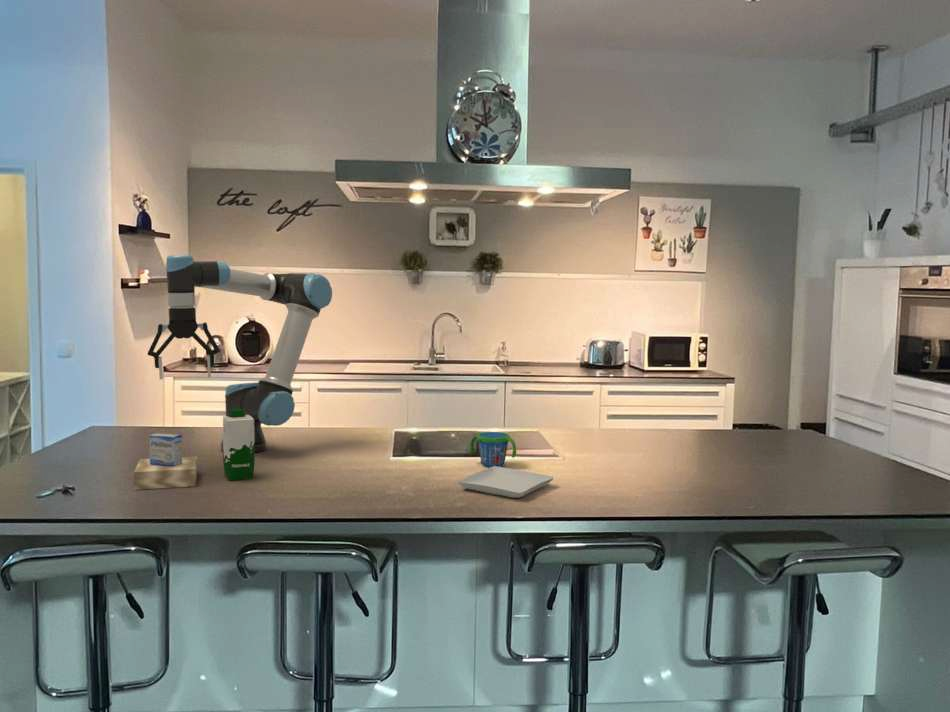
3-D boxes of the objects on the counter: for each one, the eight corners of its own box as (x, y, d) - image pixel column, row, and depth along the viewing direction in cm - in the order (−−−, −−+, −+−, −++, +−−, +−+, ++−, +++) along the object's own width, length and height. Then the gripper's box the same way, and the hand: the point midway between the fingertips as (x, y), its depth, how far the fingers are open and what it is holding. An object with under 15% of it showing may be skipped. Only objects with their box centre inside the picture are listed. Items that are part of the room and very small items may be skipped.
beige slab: (197, 472, 237) (197, 456, 236) (195, 486, 222) (195, 468, 221) (140, 475, 232) (140, 459, 231) (134, 489, 217) (133, 472, 216)
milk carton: (250, 472, 239) (250, 407, 237) (257, 479, 231) (256, 412, 229) (221, 474, 235) (220, 409, 233) (226, 482, 227) (225, 414, 225)
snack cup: (463, 465, 253) (464, 434, 252) (480, 459, 262) (480, 429, 261) (505, 472, 245) (506, 440, 244) (521, 465, 254) (522, 434, 253)
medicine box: (149, 464, 225) (148, 435, 224) (158, 461, 229) (157, 432, 228) (174, 466, 223) (173, 436, 222) (182, 463, 227) (182, 433, 227)
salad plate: (520, 504, 212) (521, 491, 212) (455, 491, 223) (455, 479, 223) (555, 487, 230) (555, 475, 230) (493, 476, 241) (493, 465, 241)
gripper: (225, 305, 239) (228, 373, 242) (137, 307, 231) (141, 377, 234) (226, 306, 232) (229, 377, 235) (135, 308, 224) (139, 381, 227)
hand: (185, 377), depth 235 cm, fingers open, 13 cm apart
